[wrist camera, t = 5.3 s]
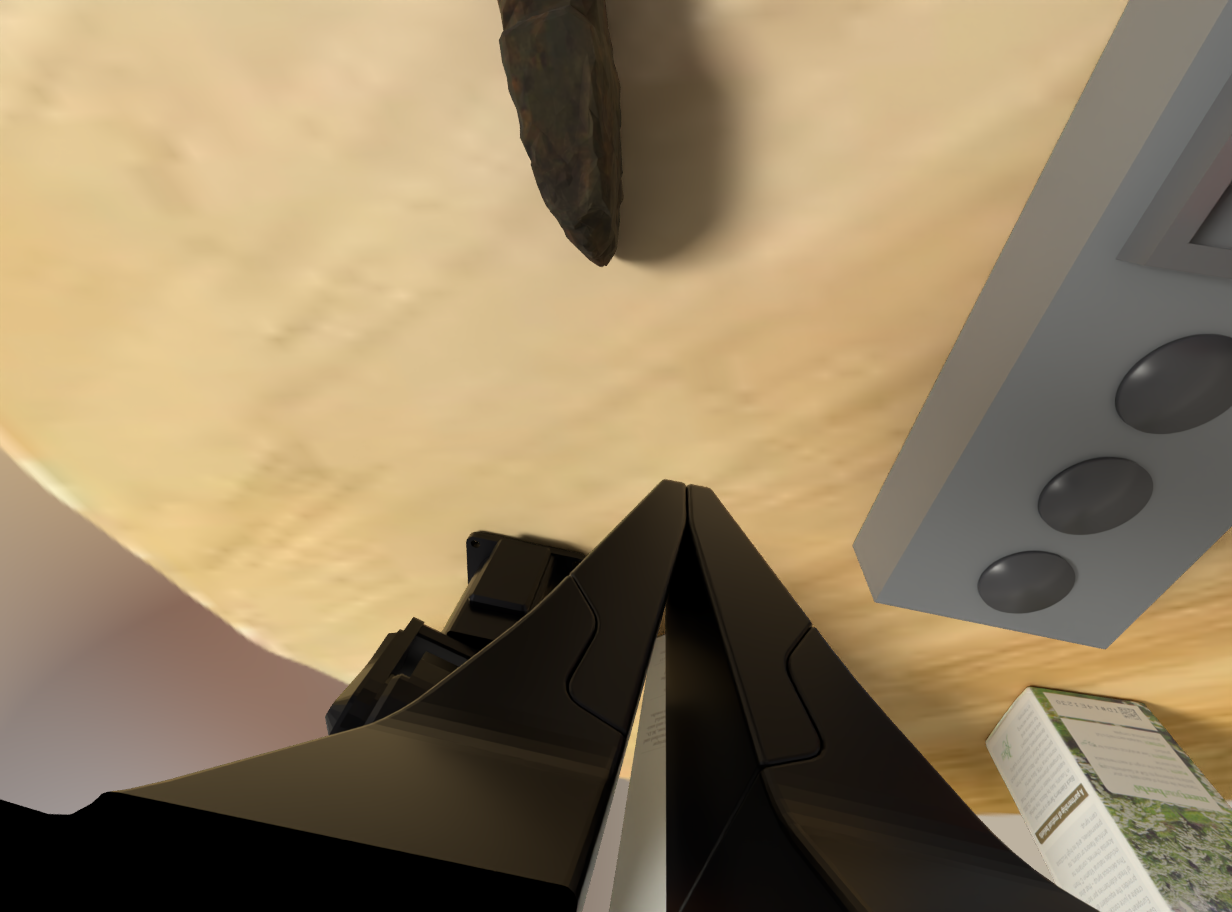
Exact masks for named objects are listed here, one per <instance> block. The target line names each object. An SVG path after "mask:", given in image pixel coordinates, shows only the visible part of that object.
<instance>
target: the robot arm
mask: <svg viewBox="0 0 1232 912" xmlns="http://www.w3.org/2000/svg"><path fill="white" fill-rule="evenodd" d="M476 541H478V542H479V543H478V542H476ZM466 548H467V570H468V586H467V588H466V590H465V591H464V593H463V595H462V597H461V599H460V600H459V602H458V604H457V606H456V607H455V609H454V611H453V613H452V614H451V616H450V618H449V620H448V622H447V623H446V625H445V627H444V629H443V630H442V632H439V631H437V630H435V629H433V628H431V627H429V626H427V625H425V624H424V623H425V622H423V621H421V620H419V619H417V618H415V617H413V618H412V620H411V621H410V623H409V624H408V625H407V627H406V628H405V630H404V631H403V630H401V629H400V630H399V631H398V632H397V633H388V635H387V636H386V638H385V639H384V641H383V642H382V644H381V645H380V647H379V648H378V650H377V651H376V653H375V654H374V656H373V657H372V658H371V660H370V661H369V662H368V664H367V665H366V666H365V668H364V669H363V670H362V671H361V672H360V673H359V675H358V676H357V677H356V678H355V679H354V680H353V681H352V682H351V684H350V685H349V686H348V687H347V688H346V689H345V690H344V691H343V693H342V694H341V695H340V696H339V697H338V698H337V699H336V701H335V702H334V703H333V704H332V706H331V707H330V709H329V711H328V713H327V714H326V716H325V718H326V724H327V730H328V735H329V736H325V737H322V738H318V739H315V740H311V741H307V742H304V743H300V744H296V745H293V746H289V747H286V748H282V749H278V750H275V751H271V752H267V753H264V754H260V755H256V756H253V757H250V758H246V759H242V760H238V761H235V762H231V763H227V764H224V765H220V766H217V767H213V768H209V769H206V770H202V771H199V772H195V773H191V774H187V775H184V776H180V777H176V778H173V779H169V780H165V781H161V782H157V783H152V784H148V785H144V786H139V787H135V788H131V789H126V790H118V791H111V792H106V793H103V794H101V795H100V796H99V797H98V798H97V799H96V800H95V801H94V802H93V803H92V804H90V805H88V806H86V807H84V808H82V809H80V810H78V811H77V812H75V813H73V814H70V815H61V814H60V815H59V814H46V813H43V812H40V811H37V810H33V809H30V808H27V807H23V806H20V805H17V804H14V803H10V802H7V801H4V800H0V912H582V910H583V906H584V903H585V899H586V895H587V892H588V888H589V884H590V881H591V877H592V873H593V870H594V866H595V862H596V859H597V855H598V851H599V848H600V844H601V840H602V837H603V833H604V829H605V825H606V822H607V818H608V815H609V811H610V807H611V803H612V800H613V796H614V793H615V789H616V785H617V781H618V778H619V774H620V770H621V767H622V763H623V759H624V756H625V752H626V748H627V745H628V741H629V737H630V734H631V730H632V726H633V723H634V719H635V715H636V712H637V708H638V704H639V701H640V697H641V693H642V690H643V686H644V682H645V679H646V675H647V671H648V668H649V664H650V660H651V657H652V653H653V649H654V645H655V642H656V638H657V634H658V631H659V627H660V623H661V620H662V616H663V612H664V608H665V605H666V616H665V673H666V912H1100V911H1099V910H1097V909H1095V908H1094V907H1092V906H1090V905H1088V904H1087V903H1085V902H1083V901H1082V900H1080V899H1078V898H1076V897H1075V896H1073V895H1071V894H1070V893H1068V892H1067V891H1065V890H1063V889H1062V888H1060V887H1059V886H1057V885H1056V884H1054V883H1053V882H1051V881H1050V880H1049V879H1047V878H1046V877H1044V876H1043V875H1041V874H1040V873H1039V872H1037V871H1036V870H1034V869H1033V868H1032V867H1031V866H1029V865H1028V864H1027V863H1026V862H1024V861H1023V860H1022V859H1021V858H1020V857H1019V856H1017V855H1016V854H1015V853H1014V852H1012V850H1010V849H1009V848H1008V847H1007V846H1006V845H1005V844H1004V843H1003V842H1002V841H1001V840H1000V839H999V838H998V837H997V836H996V835H994V833H993V832H992V831H991V830H990V829H989V828H988V827H987V826H986V825H985V824H984V823H983V822H982V821H981V820H980V819H979V818H978V817H977V816H976V815H975V813H974V812H973V811H972V810H971V809H970V808H969V807H968V806H967V804H966V803H965V802H964V801H963V800H962V799H961V798H960V797H959V796H958V794H957V793H956V792H955V791H954V790H953V789H952V788H951V787H950V785H949V784H948V783H947V782H946V781H945V780H944V779H943V778H942V777H941V775H940V774H939V773H938V772H937V771H936V770H935V769H934V768H933V766H932V765H931V764H930V763H929V762H928V761H927V760H926V759H925V758H924V756H923V755H922V754H921V753H920V752H919V751H918V750H917V749H916V748H915V746H914V745H913V744H912V743H911V742H910V741H909V740H908V739H907V737H906V736H905V735H904V734H903V733H902V732H901V731H900V730H899V729H898V727H897V726H896V725H895V724H894V723H893V722H892V721H891V720H890V718H889V717H888V716H887V715H886V714H885V713H884V712H883V710H882V709H881V708H880V707H879V706H878V705H877V703H876V702H875V701H874V700H873V699H872V698H871V697H870V695H869V694H868V693H867V692H866V691H865V690H864V688H863V687H862V686H861V685H860V684H859V683H858V681H857V680H856V679H855V678H854V677H853V675H852V674H851V673H850V671H849V670H848V669H847V668H846V666H845V665H844V664H843V663H842V661H841V660H840V659H839V658H838V656H837V655H836V654H835V652H834V651H833V650H832V649H831V647H830V646H829V645H828V643H827V642H826V641H825V639H824V638H823V637H822V635H821V634H820V633H819V631H818V630H817V629H816V628H815V627H812V623H811V621H810V620H809V618H808V617H807V616H806V614H805V613H804V612H803V610H802V609H801V608H800V607H799V605H798V604H797V603H796V601H795V600H794V599H793V597H792V596H791V595H790V593H789V592H788V591H787V589H786V588H785V587H784V585H783V584H782V583H781V581H780V580H779V579H778V577H777V576H776V575H775V573H774V572H773V571H772V569H771V568H770V567H769V565H768V564H767V563H766V561H765V560H764V559H763V557H762V556H761V555H760V553H759V552H758V551H757V549H756V548H755V547H754V545H753V544H752V543H751V541H750V540H749V539H748V537H747V536H746V535H745V533H744V532H743V531H742V529H741V528H740V527H739V525H738V524H737V523H736V521H735V520H734V519H733V517H732V516H731V515H730V513H729V512H728V511H727V509H726V508H725V507H724V505H723V504H722V503H721V501H720V500H719V499H718V497H717V496H716V495H715V493H714V492H713V491H712V490H711V489H710V488H708V487H703V486H698V485H693V484H689V485H687V487H686V485H685V484H684V483H682V482H677V481H672V480H667V479H664V480H662V481H661V482H660V483H659V484H658V485H657V486H656V487H655V488H654V489H653V490H652V491H651V492H650V493H649V494H648V495H647V496H646V497H645V498H644V499H643V500H642V501H641V502H640V503H639V504H638V505H637V506H636V507H635V508H634V509H633V510H632V511H631V512H630V513H629V514H628V515H627V516H626V517H625V518H624V519H623V520H622V521H621V522H620V523H619V524H618V525H617V526H616V527H615V528H614V529H613V530H612V531H611V532H610V533H609V534H608V535H607V536H606V537H605V538H604V539H603V540H602V541H601V542H600V543H599V544H598V545H597V546H596V547H595V548H594V549H593V551H592V552H591V553H590V554H589V555H588V556H587V557H586V556H584V555H583V554H581V553H577V552H572V551H567V550H563V549H558V548H553V547H548V546H543V545H538V544H533V543H529V542H524V541H519V540H514V539H509V538H504V537H499V536H495V535H490V534H485V533H480V532H473V533H471V534H470V535H469V537H468V539H467V541H466ZM576 562H579V563H580V564H578V563H576Z"/></svg>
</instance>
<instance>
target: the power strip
mask: <svg viewBox="0 0 1232 912" xmlns="http://www.w3.org/2000/svg"><path fill="white" fill-rule="evenodd" d="M1231 526H1232V0H1129V2H1128V4H1127V6H1126V8H1125V10H1124V12H1123V14H1122V16H1121V18H1120V20H1119V22H1118V24H1117V26H1116V28H1115V30H1114V32H1113V34H1112V36H1111V38H1110V40H1109V42H1108V43H1107V45H1106V47H1105V49H1104V51H1103V53H1102V55H1101V57H1100V59H1099V61H1098V63H1097V65H1096V67H1095V69H1094V71H1093V73H1092V75H1091V77H1090V79H1089V81H1088V83H1087V85H1086V87H1085V89H1084V91H1083V93H1082V95H1081V97H1080V99H1079V101H1078V103H1077V104H1076V106H1075V108H1074V110H1073V112H1072V114H1071V116H1070V118H1069V120H1068V122H1067V124H1066V126H1065V128H1064V130H1063V132H1062V134H1061V136H1060V138H1059V140H1058V142H1057V144H1056V146H1055V148H1054V150H1053V152H1052V154H1051V156H1050V158H1049V160H1048V162H1047V164H1046V165H1045V167H1044V169H1043V171H1042V173H1041V175H1040V177H1039V179H1038V181H1037V183H1036V185H1035V187H1034V189H1033V191H1032V193H1031V195H1030V197H1029V199H1028V201H1027V203H1026V205H1025V207H1024V209H1023V211H1022V213H1021V215H1020V217H1019V219H1018V221H1017V223H1016V225H1015V226H1014V228H1013V230H1012V232H1011V234H1010V236H1009V238H1008V240H1007V242H1006V244H1005V246H1004V248H1003V250H1002V252H1001V254H1000V256H999V258H998V260H997V262H996V264H995V266H994V268H993V270H992V272H991V274H990V276H989V278H988V280H987V282H986V284H985V286H984V288H983V289H982V291H981V293H980V295H979V297H978V299H977V301H976V303H975V305H974V307H973V309H972V311H971V313H970V315H969V317H968V319H967V321H966V323H965V325H964V327H963V329H962V331H961V333H960V335H959V337H958V339H957V341H956V343H955V345H954V347H953V349H952V350H951V352H950V354H949V356H948V358H947V360H946V362H945V364H944V366H943V368H942V370H941V372H940V374H939V376H938V378H937V380H936V382H935V384H934V386H933V388H932V390H931V392H930V394H929V396H928V398H927V400H926V402H925V404H924V406H923V408H922V410H921V411H920V413H919V415H918V417H917V419H916V421H915V423H914V425H913V427H912V429H911V431H910V433H909V435H908V437H907V439H906V441H905V443H904V445H903V447H902V449H901V451H900V453H899V455H898V457H897V459H896V461H895V463H894V465H893V467H892V469H891V471H890V473H889V474H888V476H887V478H886V480H885V482H884V484H883V486H882V488H881V490H880V492H879V494H878V496H877V498H876V500H875V502H874V504H873V506H872V508H871V510H870V512H869V514H868V516H867V518H866V520H865V522H864V524H863V526H862V528H861V530H860V532H859V534H858V535H857V537H856V539H855V541H854V543H853V545H852V546H853V548H854V551H855V553H856V556H857V559H858V561H859V564H860V566H861V569H862V571H863V574H864V576H865V579H866V582H867V584H868V587H869V589H870V592H871V594H872V597H873V599H874V602H876V603H881V604H886V605H891V606H896V607H901V608H906V609H910V610H915V611H920V612H925V613H930V614H935V615H940V616H945V617H950V618H954V619H959V620H964V621H969V622H974V623H979V624H984V625H989V626H994V627H998V628H1003V629H1008V630H1013V631H1018V632H1023V633H1028V634H1033V635H1038V636H1042V637H1047V638H1052V639H1057V640H1062V641H1067V642H1072V643H1077V644H1082V645H1087V646H1091V647H1096V648H1101V649H1107V648H1108V647H1109V646H1110V645H1111V644H1112V643H1113V642H1114V641H1115V640H1116V639H1117V638H1118V637H1119V636H1120V635H1121V634H1122V633H1123V632H1124V631H1125V630H1126V629H1127V628H1128V627H1129V626H1130V625H1131V624H1132V623H1133V622H1134V621H1135V620H1136V619H1137V618H1138V617H1139V616H1140V615H1141V614H1142V613H1143V612H1144V611H1145V610H1146V609H1148V608H1149V607H1150V606H1151V605H1152V604H1153V603H1154V602H1155V601H1156V600H1157V599H1158V598H1159V597H1160V596H1161V595H1162V594H1163V593H1164V592H1165V591H1166V590H1167V589H1168V588H1169V587H1170V586H1171V585H1172V584H1173V583H1174V582H1175V581H1176V580H1177V579H1178V578H1179V577H1180V576H1181V575H1182V574H1183V573H1184V572H1185V571H1186V570H1187V569H1188V568H1189V567H1191V566H1192V565H1193V564H1194V563H1195V562H1196V561H1197V560H1198V559H1199V558H1200V557H1201V556H1202V555H1203V554H1204V553H1205V552H1206V551H1207V550H1208V549H1209V548H1210V547H1211V546H1212V545H1213V544H1214V543H1215V542H1216V541H1217V540H1218V539H1219V538H1220V537H1221V536H1222V535H1223V534H1224V533H1225V532H1226V531H1227V530H1228V529H1229V528H1230V527H1231Z"/></svg>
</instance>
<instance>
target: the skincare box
mask: <svg viewBox="0 0 1232 912" xmlns="http://www.w3.org/2000/svg"><path fill="white" fill-rule="evenodd" d="M609 912H666V673H665V635H662V636H660V637H658V638H656V642H655V645H654V649H653V653H652V657H651V660H650V664H649V668H648V671H647V677H646V683H645V690H644V696H643V702H642V708H641V714H640V721H639V727H638V733H637V740H636V746H635V752H634V759H633V765H632V771H631V777H630V783H629V789H628V795H627V802H626V808H625V815H624V822H623V828H622V835H621V841H620V847H619V853H618V859H617V866H616V872H615V878H614V884H613V890H612V896H611V902H610V909H609Z"/></svg>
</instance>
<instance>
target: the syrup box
mask: <svg viewBox="0 0 1232 912" xmlns="http://www.w3.org/2000/svg"><path fill="white" fill-rule="evenodd" d="M985 743H986V746H987V749H988V751H989V753H990V755H991V757H992V759H993V761H994V763H995V765H996V767H997V769H998V771H999V773H1000V774H1001V776H1002V778H1003V780H1004V782H1005V784H1006V786H1007V788H1008V790H1009V792H1010V793H1011V795H1012V797H1013V799H1014V801H1015V803H1016V805H1017V807H1018V809H1019V811H1020V813H1021V815H1022V817H1023V819H1024V821H1025V823H1026V825H1027V827H1028V829H1029V831H1030V833H1031V835H1032V837H1033V839H1034V841H1035V844H1036V845H1037V847H1038V849H1039V851H1040V854H1041V856H1042V857H1043V859H1044V862H1045V863H1046V866H1047V867H1048V870H1049V872H1050V874H1051V876H1052V878H1053V880H1054V882H1055V884H1056V885H1057V886H1059V887H1060V888H1062V889H1063V890H1065V891H1067V892H1068V893H1070V894H1071V895H1073V896H1075V897H1076V898H1078V899H1080V900H1082V901H1083V902H1085V903H1087V904H1088V905H1090V906H1092V907H1094V908H1095V909H1097V910H1099V911H1100V912H1232V808H1231V807H1230V806H1229V805H1228V804H1227V802H1226V801H1225V800H1224V799H1223V797H1222V796H1221V795H1220V794H1219V793H1218V791H1217V790H1216V789H1215V788H1214V787H1213V785H1212V784H1211V783H1210V782H1209V781H1208V780H1207V778H1206V777H1205V776H1204V775H1203V773H1202V772H1201V771H1200V770H1199V768H1198V767H1197V766H1196V765H1195V764H1194V763H1193V762H1192V760H1191V759H1190V758H1189V757H1188V755H1187V754H1186V753H1185V752H1184V751H1183V750H1182V748H1181V747H1180V746H1179V745H1178V744H1177V743H1176V741H1175V740H1174V739H1173V738H1172V736H1171V735H1170V734H1169V733H1168V731H1167V730H1166V729H1165V728H1164V727H1163V725H1162V724H1161V723H1160V722H1159V720H1158V719H1157V718H1156V717H1155V716H1154V715H1153V714H1152V712H1151V711H1150V710H1149V709H1148V708H1147V706H1146V705H1145V704H1143V703H1140V702H1133V701H1126V700H1119V699H1112V698H1105V697H1098V696H1091V695H1084V694H1079V693H1071V692H1064V691H1057V690H1050V689H1044V688H1036V687H1027V688H1026V689H1025V690H1024V691H1023V692H1022V693H1021V694H1020V695H1019V697H1018V698H1017V699H1016V700H1015V701H1014V703H1013V704H1012V705H1011V706H1010V708H1009V709H1008V711H1007V712H1006V713H1005V714H1004V716H1003V717H1002V719H1001V720H1000V721H999V723H998V724H997V726H996V727H995V729H994V730H993V731H992V733H991V734H990V736H989V737H988V739H987V740H986V741H985Z"/></svg>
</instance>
